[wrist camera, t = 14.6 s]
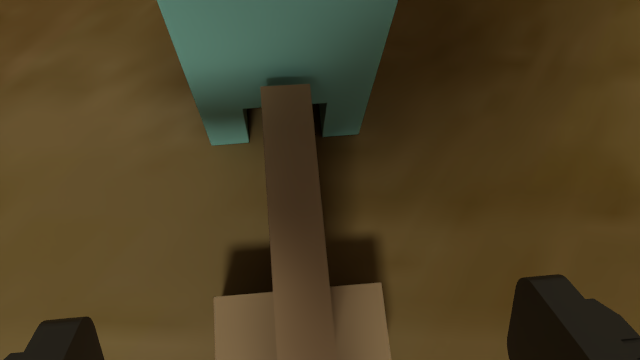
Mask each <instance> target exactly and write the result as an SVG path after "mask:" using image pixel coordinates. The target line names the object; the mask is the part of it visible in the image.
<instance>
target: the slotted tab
mask: <svg viewBox="0 0 640 360" xmlns="http://www.w3.org/2000/svg"><path fill="white" fill-rule="evenodd" d="M157 2H158V5H159V7H160V10H161V13H162V15H163V18H164V20H165V23H166V26H167V28H168V31H169V34H170V36H171V39H172V42H173V44H174V47H175V50H176V52H177V55H178V58H179V60H180V63H181V66H182V68H183V71H184V73H185V76H186V79H187V81H188V84H189V87H190V89H191V92H192V95H193V97H194V100H195V103H196V105H197V108H198V111H199V113H200V116H201V118H202V121H203V124H204V126H205V129H206V132H207V134H208V137H209V140H210V142H211V145H224V144H237V143H249V135H248V120H247V108H261V91H260V87H261V86H279V85H296V84H310V89H311V99H312V104H318V103H319V112H320V120H321V129H322V137H329V136H342V135H355V134H359V131H360V127H361V124H362V121H363V117H364V114H365V110H366V107H367V104H368V100H369V97H370V94H371V90H372V87H373V83H374V80H375V77H376V73H377V70H378V66H379V63H380V60H381V56H382V53H383V49H384V46H385V43H386V39H387V36H388V32H389V29H390V26H391V22H392V19H393V16H394V12H395V9H396V5H397V2H398V0H157Z"/></svg>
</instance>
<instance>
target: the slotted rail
mask: <svg viewBox="0 0 640 360" xmlns="http://www.w3.org/2000/svg"><path fill="white" fill-rule="evenodd" d="M260 91H261V107H262V123H263V139H264V155H265V171H266V187H267V203H268V219H269V235H270V251H271V267H272V283H273V292H265V293H254V294H242V295H231V296H220V297H214V331H215V360H391V353H390V346H389V338H388V330H387V322H386V315H385V307H384V299H383V292H382V284H381V282H380V283H368V284H357V285H345V286H334V287H330V284H329V273H328V263H327V253H326V243H325V232H324V222H323V212H322V202H321V191H320V181H319V171H318V161H317V150H316V140H315V130H314V120H313V109H312V99H311V89H310V84H296V85H279V86H261V87H260Z"/></svg>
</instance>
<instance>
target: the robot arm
mask: <svg viewBox="0 0 640 360" xmlns="http://www.w3.org/2000/svg"><path fill="white" fill-rule="evenodd" d="M507 349H508V355H509V359H510V360H640V336H639V335H638V334H637V333H636V332H635V331H634V329H633V328H632V327H631V326H630V325H629V324H628V323H627V322H626V321H625V320H624V319H623V318H622V317H621V316H620V315H619V314H617V313H615V312H614V311H612V310H611V309H609V308H608V307H606V306H604V305H603V304H601V303H600V302H598V301H596V300H595V299H584V297H583V296H582V295H581V294H580V293H579V292H578V291H577V289H576V288H575V287H574V286H573V285H572V284H571V283H570V281H569V280H568V279H567V278H566V277H564V276H563V275H559V274H557V275H546V276H536V277H525V278H521V279H519V281H518V282H517V285H516V289H515V295H514V301H513V307H512V313H511V319H510V325H509V331H508V337H507ZM4 360H104V357H103V354H102V350H101V347H100V343H99V340H98V336H97V333H96V330H95V326H94V323H93V321H92V320H91V318H89V317H77V318H66V319H55V320H46V321H43V322H41V324H40V325H39V326H38V328H37V329H36V331H35V333H34V335H33V336H32V338H31V340H30V342H29V344H28V345H27V347H26V349H25V351H24V352H20V353H10V354H9V355H8V356H7V357H6V358H5V359H4Z"/></svg>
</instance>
